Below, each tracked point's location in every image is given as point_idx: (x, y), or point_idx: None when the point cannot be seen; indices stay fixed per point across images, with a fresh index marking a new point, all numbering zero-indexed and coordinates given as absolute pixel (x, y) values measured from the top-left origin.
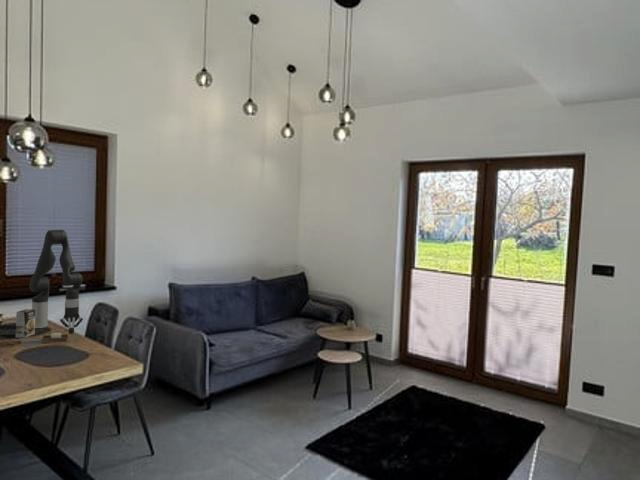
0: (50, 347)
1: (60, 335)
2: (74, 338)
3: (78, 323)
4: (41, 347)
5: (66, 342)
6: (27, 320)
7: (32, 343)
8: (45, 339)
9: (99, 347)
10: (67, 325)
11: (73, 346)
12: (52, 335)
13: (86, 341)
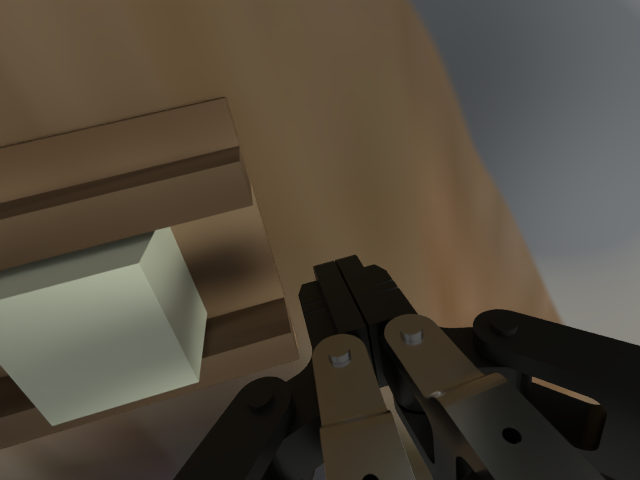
0: (190, 454)
1: (199, 374)
2: (326, 103)
3: (597, 444)
4: (99, 468)
5: (296, 341)
6: None
7: None
8: (29, 434)
9: (572, 394)
10: (308, 469)
11: (385, 402)
12: (76, 415)
13: (485, 245)
